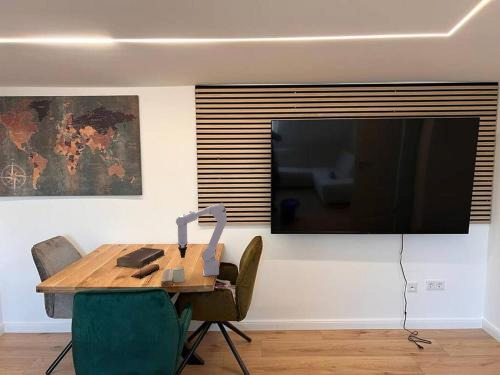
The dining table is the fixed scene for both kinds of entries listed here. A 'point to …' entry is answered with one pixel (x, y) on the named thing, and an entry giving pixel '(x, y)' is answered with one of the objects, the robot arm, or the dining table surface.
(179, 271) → the block
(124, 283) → the dining table surface
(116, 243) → the dining table surface
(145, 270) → the sunglasses case
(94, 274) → the dining table surface
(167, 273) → the tan rectangular bar
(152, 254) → the hardback book
